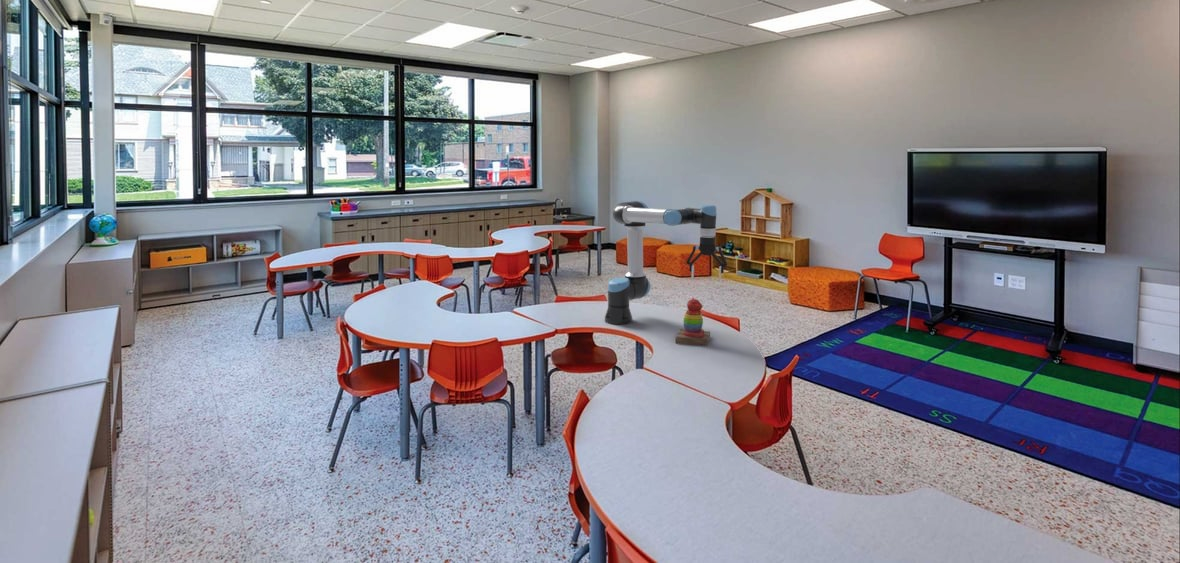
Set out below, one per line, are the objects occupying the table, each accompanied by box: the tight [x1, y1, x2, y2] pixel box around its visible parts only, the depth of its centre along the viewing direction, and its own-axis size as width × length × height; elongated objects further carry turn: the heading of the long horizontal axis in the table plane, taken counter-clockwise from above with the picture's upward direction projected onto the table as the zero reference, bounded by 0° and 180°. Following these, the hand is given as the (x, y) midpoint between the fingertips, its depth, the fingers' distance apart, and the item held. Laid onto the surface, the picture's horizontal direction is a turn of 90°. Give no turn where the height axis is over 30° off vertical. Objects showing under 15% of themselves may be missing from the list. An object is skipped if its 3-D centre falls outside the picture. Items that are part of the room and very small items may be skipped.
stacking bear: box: [682, 297, 705, 338], centre depth 298 cm, size 11×10×18 cm
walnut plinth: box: [675, 328, 711, 347], centre depth 300 cm, size 15×15×3 cm
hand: (706, 278), depth 305 cm, fingers open, 13 cm apart
